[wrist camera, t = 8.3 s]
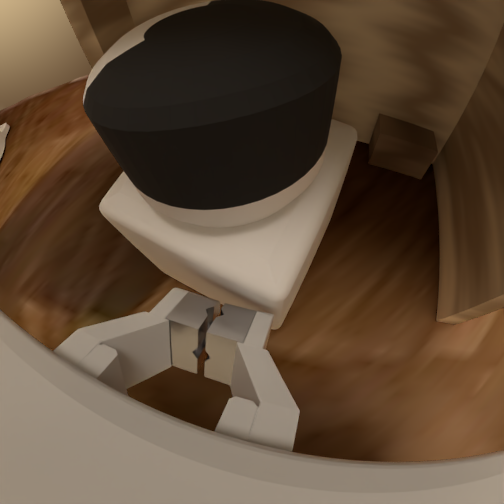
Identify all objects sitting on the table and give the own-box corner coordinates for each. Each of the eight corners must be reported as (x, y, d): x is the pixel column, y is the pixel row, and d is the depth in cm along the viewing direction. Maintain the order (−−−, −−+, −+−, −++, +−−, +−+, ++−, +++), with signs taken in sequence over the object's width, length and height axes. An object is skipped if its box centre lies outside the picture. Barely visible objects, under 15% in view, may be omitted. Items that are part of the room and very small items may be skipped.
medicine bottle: (331, 217, 16) (389, 10, 5) (277, 332, 13) (299, 193, 2) (223, 174, 17) (178, -11, 6) (161, 271, 15) (8, 112, 4)
